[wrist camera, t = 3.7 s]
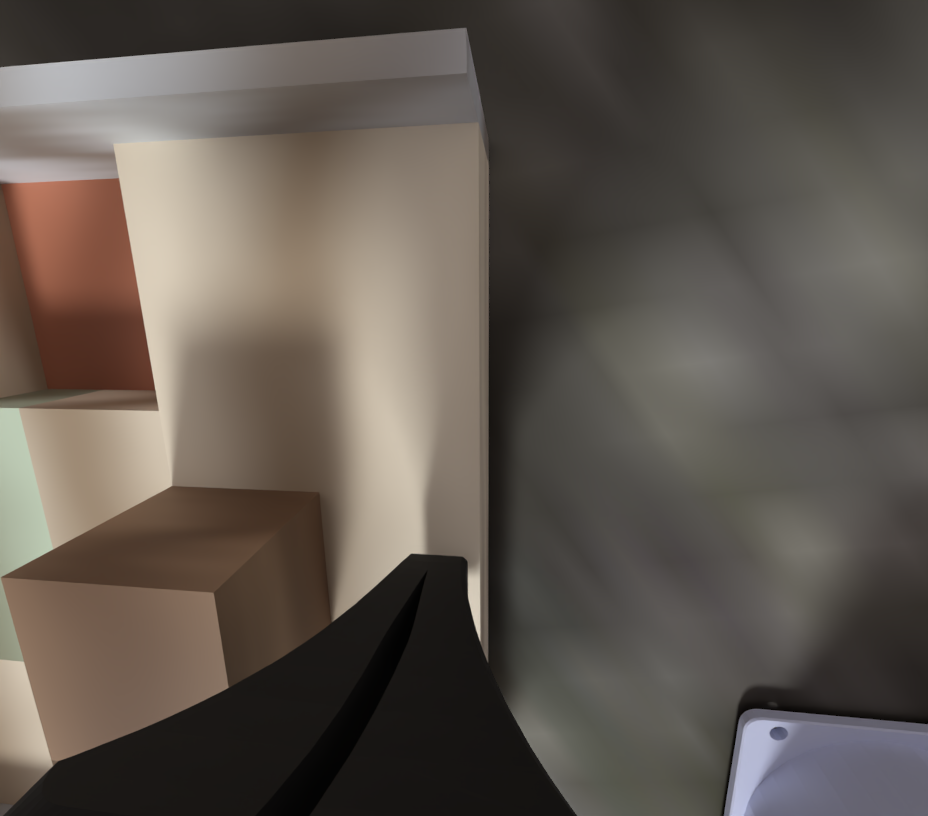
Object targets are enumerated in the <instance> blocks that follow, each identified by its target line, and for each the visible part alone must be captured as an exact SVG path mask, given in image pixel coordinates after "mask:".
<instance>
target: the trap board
mask: <svg viewBox="0 0 928 816" xmlns="http://www.w3.org/2000/svg"><path fill="white" fill-rule="evenodd" d="M171 486H183V487H207V488H231V489H255V490H279V491H303V492H319V495H320V506H321V517H322V528H323V539H324V550H325V560H326V571H327V582H328V593H329V604H330V615H331V623H332V622H333V621H334V620H336V619H337V618H338V617H339V616H341V615H342V614H343V613H344V612H346V611H347V610H348V609H350V608H351V607H352V606H353V605H355V604H356V603H357V602H358V601H359V600H360V599H361V598H363V597H364V596H365V595H366V594H367V593H368V592H369V591H370V590H372V589H373V588H374V587H375V586H376V585H377V584H378V583H379V582H381V581H382V580H383V579H384V578H385V577H386V576H387V575H388V574H389V573H390V572H391V571H392V570H393V569H394V568H396V567H397V566H398V565H399V564H400V563H401V562H402V561H403V560H404V559H405V558H407V557H408V556H409V555H410V554H429V555H446V556H463V557H464V558H465V559H466V560H467V561H468V599H469V604H470V608H471V612H472V616H473V620H474V624H475V627H476V631H477V634H478V637H479V640H480V643H481V646H482V649H483V651H484V654H485V657H486V659H487V662H488V520H489V138H488V133H487V128H486V123H485V118H484V113H483V108H482V103H481V98H480V93H479V88H478V83H477V78H476V73H475V68H474V63H473V58H472V53H471V48H470V43H469V38H468V33H467V28H457V29H445V30H433V31H422V32H410V33H398V34H386V35H375V36H363V37H351V38H339V39H328V40H316V41H304V42H292V43H281V44H269V45H257V46H245V47H233V48H222V49H210V50H198V51H186V52H175V53H163V54H151V55H139V56H128V57H116V58H104V59H92V60H81V61H69V62H57V63H45V64H33V65H22V66H10V67H0V816H3V815H4V814H5V813H6V812H7V811H8V810H9V809H10V808H11V807H12V806H13V805H14V804H15V803H16V802H17V801H18V800H19V799H20V798H21V797H22V796H23V795H24V794H25V793H26V792H27V791H28V790H29V789H30V788H31V787H32V786H33V785H34V784H35V783H36V782H37V781H38V780H39V779H40V778H41V777H42V776H43V775H44V774H45V773H46V772H47V771H48V770H49V769H50V768H51V767H53V766H54V765H55V764H56V763H57V762H58V761H54V760H51V756H50V753H49V749H48V746H47V742H46V738H45V735H44V731H43V728H42V724H41V721H40V717H39V713H38V710H37V706H36V703H35V699H34V695H33V692H32V688H31V685H30V681H29V678H28V674H27V670H26V667H25V663H24V660H23V656H22V652H21V649H20V645H19V642H18V638H17V635H16V631H15V627H14V624H13V620H12V617H11V613H10V610H9V606H8V602H7V599H6V595H5V592H4V588H3V584H2V581H1V577H2V576H4V575H6V574H8V573H10V572H12V571H14V570H15V569H17V568H19V567H21V566H23V565H25V564H27V563H29V562H30V561H32V560H34V559H36V558H38V557H40V556H42V555H44V554H45V553H47V552H49V551H51V550H53V549H55V548H57V547H59V546H60V545H62V544H64V543H66V542H68V541H70V540H72V539H74V538H75V537H77V536H79V535H81V534H83V533H85V532H87V531H89V530H90V529H92V528H94V527H96V526H98V525H100V524H102V523H104V522H105V521H107V520H109V519H111V518H113V517H115V516H117V515H119V514H120V513H122V512H124V511H126V510H128V509H130V508H132V507H134V506H135V505H137V504H139V503H141V502H143V501H145V500H147V499H149V498H150V497H152V496H154V495H156V494H158V493H160V492H162V491H164V490H165V489H167V488H169V487H171Z"/></svg>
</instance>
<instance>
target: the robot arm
mask: <svg viewBox="0 0 928 816" xmlns="http://www.w3.org/2000/svg"><path fill="white" fill-rule="evenodd" d="M774 727H777V728H774ZM773 728H774V729H773ZM3 816H577V815H576V814H575V812H574V811H573V810H572V808H571V807H570V806H569V804H568V803H567V801H566V800H565V799H564V797H563V796H562V794H561V793H560V791H559V790H558V788H557V787H556V786H555V784H554V783H553V781H552V780H551V778H550V777H549V775H548V774H547V772H546V771H545V769H544V767H543V766H542V764H541V763H540V761H539V760H538V758H537V756H536V755H535V753H534V752H533V750H532V749H531V747H530V745H529V743H528V742H527V740H526V738H525V736H524V735H523V733H522V731H521V729H520V727H519V726H518V724H517V722H516V720H515V718H514V717H513V715H512V713H511V711H510V709H509V708H508V706H507V704H506V702H505V700H504V698H503V696H502V693H501V691H500V689H499V687H498V685H497V683H496V681H495V678H494V676H493V674H492V671H491V669H490V667H489V664H488V662H487V659H486V657H485V654H484V651H483V649H482V646H481V643H480V640H479V637H478V634H477V631H476V627H475V624H474V620H473V616H472V612H471V608H470V604H469V599H468V561H467V560H466V559H465V558H464V557H463V556H446V555H429V554H410V555H409V556H408V557H407V558H405V559H404V560H403V561H402V562H401V563H400V564H399V565H398V566H397V567H396V568H394V569H393V570H392V571H391V572H390V573H389V574H388V575H387V576H386V577H385V578H384V579H383V580H382V581H381V582H379V583H378V584H377V585H376V586H375V587H374V588H373V589H372V590H370V591H369V592H368V593H367V594H366V595H365V596H364V597H363V598H361V599H360V600H359V601H358V602H357V603H356V604H355V605H353V606H352V607H351V608H350V609H348V610H347V611H346V612H344V613H343V614H342V615H341V616H339V617H338V618H337V619H336V620H334V621H333V622H332V623H331V624H329V625H328V626H327V627H326V628H324V629H323V630H321V631H320V632H319V633H317V634H316V635H315V636H313V637H312V638H310V639H309V640H307V641H306V642H305V643H303V644H301V645H300V646H298V647H297V648H295V649H294V650H292V651H291V652H289V653H288V654H286V655H285V656H283V657H282V658H280V659H278V660H277V661H275V662H273V663H272V664H270V665H268V666H266V667H265V668H263V669H261V670H259V671H258V672H256V673H254V674H252V675H250V676H249V677H247V678H245V679H243V680H242V681H240V682H238V683H236V684H234V685H233V686H231V687H229V688H227V689H225V690H224V691H222V692H220V693H218V694H216V695H214V696H212V697H210V698H208V699H206V700H204V701H202V702H200V703H198V704H195V705H193V706H191V707H189V708H187V709H185V710H183V711H181V712H178V713H176V714H174V715H172V716H170V717H167V718H165V719H163V720H161V721H159V722H156V723H154V724H152V725H149V726H147V727H145V728H142V729H140V730H138V731H135V732H132V733H130V734H127V735H125V736H122V737H120V738H117V739H115V740H112V741H110V742H107V743H105V744H102V745H100V746H97V747H95V748H92V749H90V750H87V751H84V752H82V753H79V754H77V755H74V756H71V757H69V758H66V759H63V760H60V761H58V762H57V763H56V764H55V765H54V766H53V767H51V768H50V769H49V770H48V771H47V772H46V773H45V774H44V775H43V776H42V777H41V778H40V779H39V780H38V781H37V782H36V783H35V784H34V785H33V786H32V787H31V788H30V789H29V790H28V791H27V792H26V793H25V794H24V795H23V796H22V797H21V798H20V799H19V800H18V801H17V802H16V803H15V804H14V805H13V806H12V807H11V808H10V809H9V810H8V811H7V812H6V813H5V814H4V815H3ZM724 816H928V724H919V723H908V722H897V721H886V720H875V719H864V718H853V717H842V716H831V715H820V714H809V713H798V712H787V711H776V710H765V709H750V710H747V711H745V712H744V713H743V714H742V715H741V716H740V719H739V723H738V729H737V735H736V742H735V748H734V754H733V761H732V767H731V773H730V780H729V786H728V792H727V798H726V805H725V811H724Z"/></svg>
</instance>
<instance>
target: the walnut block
mask: <svg viewBox="0 0 928 816" xmlns="http://www.w3.org/2000/svg"><path fill="white" fill-rule="evenodd" d="M1 581H2V584H3V588H4V592H5V595H6V599H7V602H8V606H9V610H10V613H11V617H12V620H13V624H14V627H15V631H16V635H17V638H18V642H19V645H20V649H21V652H22V656H23V660H24V663H25V667H26V670H27V674H28V678H29V681H30V685H31V688H32V692H33V695H34V699H35V703H36V706H37V710H38V713H39V717H40V721H41V724H42V728H43V731H44V735H45V738H46V742H47V746H48V749H49V753H50V756H51V760H54V761H60V760H63V759H66V758H69V757H71V756H74V755H77V754H79V753H82V752H84V751H87V750H90V749H92V748H95V747H97V746H100V745H102V744H105V743H107V742H110V741H112V740H115V739H117V738H120V737H122V736H125V735H127V734H130V733H132V732H135V731H138V730H140V729H142V728H145V727H147V726H149V725H152V724H154V723H156V722H159V721H161V720H163V719H165V718H167V717H170V716H172V715H174V714H176V713H178V712H181V711H183V710H185V709H187V708H189V707H191V706H193V705H195V704H198V703H200V702H202V701H204V700H206V699H208V698H210V697H212V696H214V695H216V694H218V693H220V692H222V691H224V690H225V689H227V688H229V687H231V686H233V685H234V684H236V683H238V682H240V681H242V680H243V679H245V678H247V677H249V676H250V675H252V674H254V673H256V672H258V671H259V670H261V669H263V668H265V667H266V666H268V665H270V664H272V663H273V662H275V661H277V660H278V659H280V658H282V657H283V656H285V655H286V654H288V653H289V652H291V651H292V650H294V649H295V648H297V647H298V646H300V645H301V644H303V643H305V642H306V641H307V640H309V639H310V638H312V637H313V636H315V635H316V634H317V633H319V632H320V631H321V630H323V629H324V628H326V627H327V626H328V625H329V624H331V615H330V604H329V593H328V582H327V571H326V560H325V550H324V539H323V528H322V517H321V506H320V495H319V492H303V491H279V490H255V489H231V488H207V487H183V486H171V487H169V488H167V489H165V490H164V491H162V492H160V493H158V494H156V495H154V496H152V497H150V498H149V499H147V500H145V501H143V502H141V503H139V504H137V505H135V506H134V507H132V508H130V509H128V510H126V511H124V512H122V513H120V514H119V515H117V516H115V517H113V518H111V519H109V520H107V521H105V522H104V523H102V524H100V525H98V526H96V527H94V528H92V529H90V530H89V531H87V532H85V533H83V534H81V535H79V536H77V537H75V538H74V539H72V540H70V541H68V542H66V543H64V544H62V545H60V546H59V547H57V548H55V549H53V550H51V551H49V552H47V553H45V554H44V555H42V556H40V557H38V558H36V559H34V560H32V561H30V562H29V563H27V564H25V565H23V566H21V567H19V568H17V569H15V570H14V571H12V572H10V573H8V574H6V575H4V576H2V577H1Z"/></svg>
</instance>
